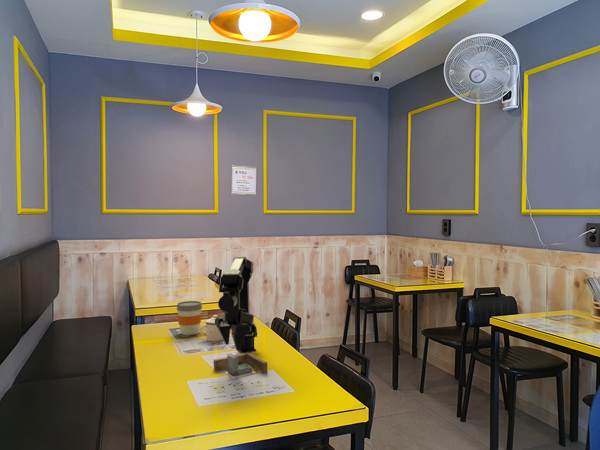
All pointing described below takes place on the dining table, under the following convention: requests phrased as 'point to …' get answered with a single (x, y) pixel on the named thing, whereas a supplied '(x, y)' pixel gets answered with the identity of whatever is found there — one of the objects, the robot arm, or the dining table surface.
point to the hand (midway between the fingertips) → (232, 347)
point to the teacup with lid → (212, 330)
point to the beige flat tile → (240, 375)
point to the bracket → (237, 366)
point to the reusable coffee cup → (189, 317)
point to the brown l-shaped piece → (243, 362)
